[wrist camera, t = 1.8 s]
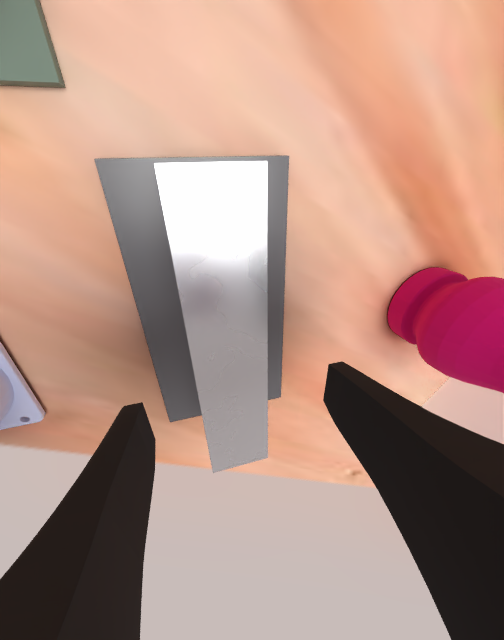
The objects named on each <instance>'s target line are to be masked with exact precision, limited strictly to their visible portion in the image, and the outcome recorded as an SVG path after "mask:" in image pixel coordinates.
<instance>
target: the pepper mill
mask: <svg viewBox="0 0 504 640" xmlns="http://www.w3.org/2000/svg"><path fill="white" fill-rule="evenodd" d="M388 324H389V326H390V328H391V330H392V331H393V332H394V333H396V334H397V335H399V336H400V337H402V338H403V339H405V340H406V341H408V342H409V343H411V344H416V345H417V347H418V351H419V353H420V355H421V357H422V358H423V359H424V361H425V362H426V363H427V364H429V365H430V366H432V367H434V368H435V369H437V370H438V371H440V372H442V373H443V374H445V375H447V376H450V377H452V378H455V379H457V380H460V381H462V382H465V383H469V384H473V385H477V386H481V387H484V388H488V389H492V390H496V391H499V392H502V393H504V279H502V278H497V277H479V278H474V279H470V280H468V279H467V278H466V277H465V276H464V275H462V274H459V273H456V272H453V271H450V270H447V269H444V268H439V267H434V268H428V269H425V270H422V271H420V272H418V273H416V274H415V275H413V276H412V277H410V278H409V279H408V280H407V281H406V282H404V283H403V284H402V285H401V287H400V288H399V289H398V291H397V292H396V293H395V295H394V297H393V299H392V301H391V303H390V306H389V310H388Z"/></svg>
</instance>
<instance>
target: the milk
mask: <svg viewBox="0 0 504 640" xmlns="http://www.w3.org/2000/svg"><path fill="white" fill-rule="evenodd" d="M421 407H423V408H424V409H426V410H428V411H430V412H432V413H434V414H436V415H438V416H440V417H442V418H444V419H446V420H449V421H451V422H453V423H455V424H457V425H459V426H462V427H464V428H466V429H468V430H470V431H473V432H475V433H477V434H480V435H482V436H484V437H487V438H489V439H492V440H494V441H497V442H499V443H502V444H504V393H502V392H499V391H496V390H492V389H488V388H484V387H481V386H477V385H473V384H469V383H465V382H462V381H460V380H457V379H455V378H452V377H450V378H449V379H448V380H447V381H446V382H445V383H444V384H443V385H442V386H441V387H440V388H439V389H438V390H437V391H436V392H435V393H434V394H433V395H432V396H431V397H430V398H429V399H428V400H427V401H426V402H425V403H424V404H423V405H422V406H421Z"/></svg>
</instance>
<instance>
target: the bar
mask: <svg viewBox="0 0 504 640" xmlns="http://www.w3.org/2000/svg"><path fill="white" fill-rule="evenodd" d="M154 165H155V170H156V176H157V181H158V186H159V191H160V197H161V202H162V207H163V212H164V218H165V223H166V228H167V233H168V239H169V244H170V249H171V255H172V260H173V265H174V270H175V276H176V281H177V286H178V291H179V297H180V302H181V307H182V312H183V318H184V323H185V328H186V334H187V339H188V344H189V349H190V355H191V360H192V365H193V370H194V376H195V381H196V386H197V391H198V397H199V402H200V407H201V412H202V418H203V423H204V428H205V434H206V439H207V444H208V449H209V455H210V460H211V465H212V470H213V473H214V472H218V471H222V470H226V469H229V468H233V467H236V466H240V465H244V464H247V463H251V462H254V461H258V460H262V459H265V458H268V289H267V161H243V162H194V163H154Z"/></svg>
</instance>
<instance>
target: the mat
mask: <svg viewBox="0 0 504 640" xmlns="http://www.w3.org/2000/svg"><path fill="white" fill-rule="evenodd" d="M0 85H6V86H34V87H61V88H65V85H64V81H63V78H62V74H61V71H60V68H59V64H58V61H57V58H56V54H55V51H54V48H53V44H52V41H51V38H50V34H49V31H48V28H47V24H46V21H45V18H44V14H43V11H42V8H41V4H40V1H39V0H0Z"/></svg>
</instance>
